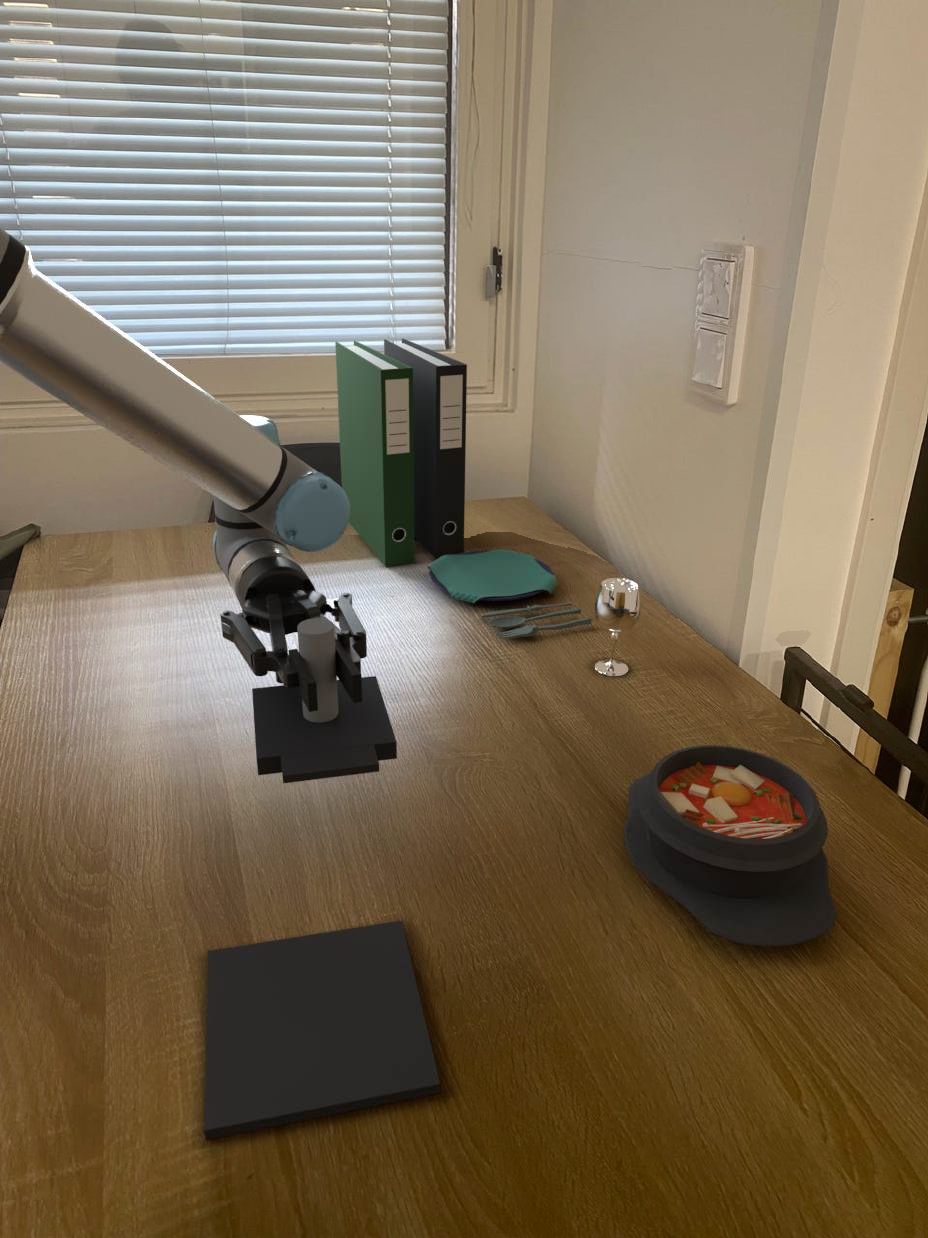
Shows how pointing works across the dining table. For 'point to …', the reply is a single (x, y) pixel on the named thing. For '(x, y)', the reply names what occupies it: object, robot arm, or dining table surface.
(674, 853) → the casserole
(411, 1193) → the dining table surface
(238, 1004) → the black pad
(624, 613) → the wineglass
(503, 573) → the cutlery set
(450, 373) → the binder
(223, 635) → the robot arm
